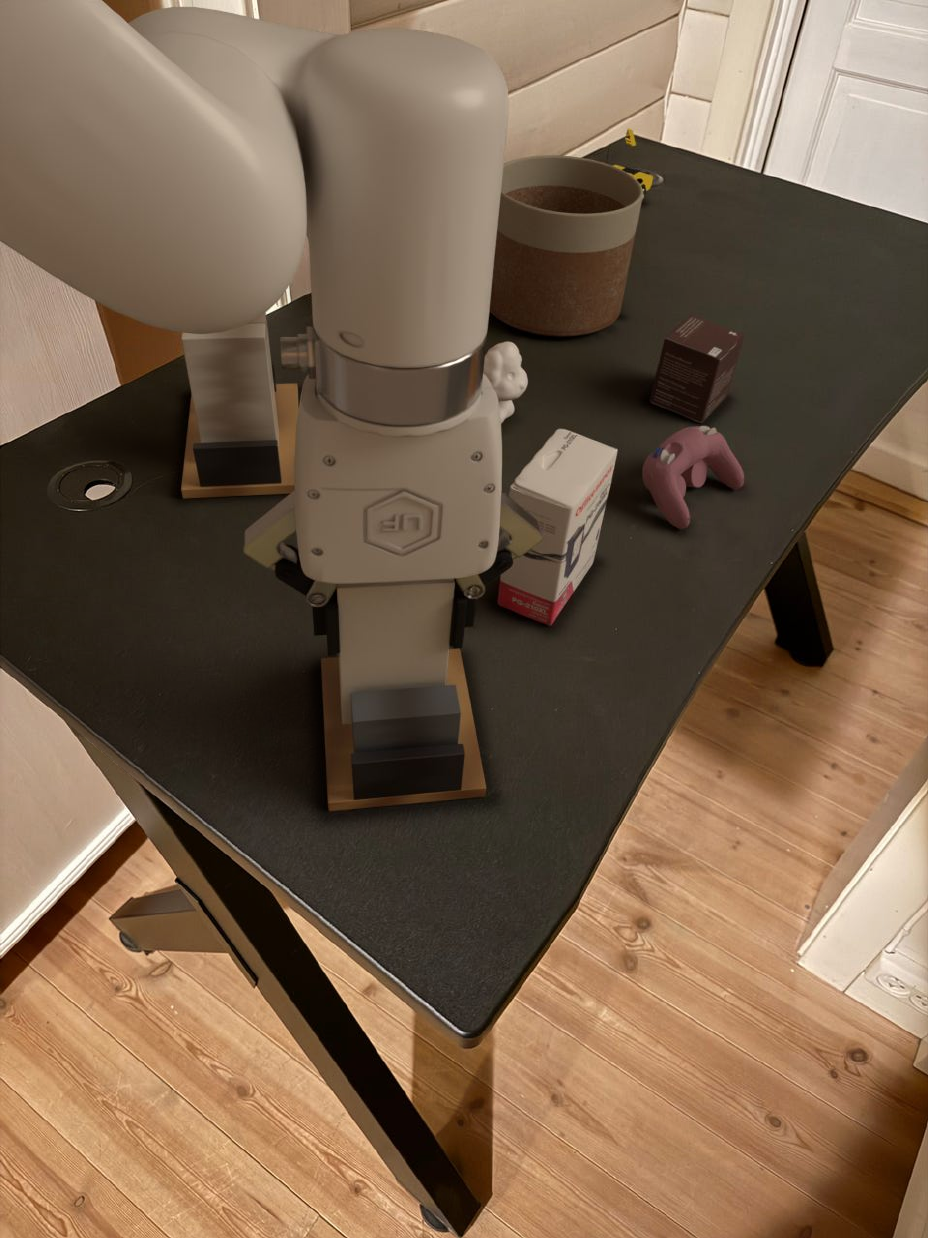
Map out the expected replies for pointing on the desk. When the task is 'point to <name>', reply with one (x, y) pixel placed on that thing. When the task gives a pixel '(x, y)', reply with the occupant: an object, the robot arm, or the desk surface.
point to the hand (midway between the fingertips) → (393, 632)
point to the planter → (563, 244)
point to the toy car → (642, 178)
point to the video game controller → (688, 469)
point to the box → (696, 368)
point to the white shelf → (237, 416)
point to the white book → (393, 636)
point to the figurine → (505, 375)
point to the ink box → (558, 523)
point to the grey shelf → (346, 743)
